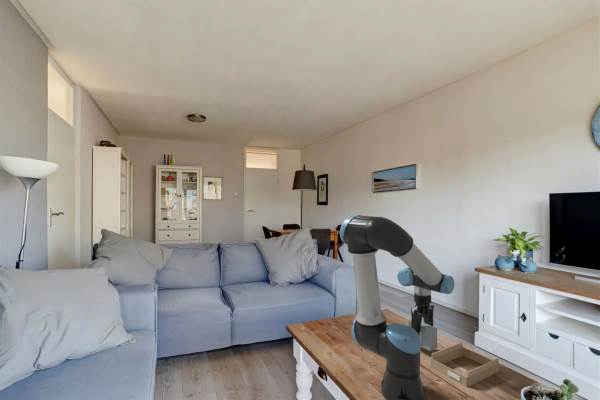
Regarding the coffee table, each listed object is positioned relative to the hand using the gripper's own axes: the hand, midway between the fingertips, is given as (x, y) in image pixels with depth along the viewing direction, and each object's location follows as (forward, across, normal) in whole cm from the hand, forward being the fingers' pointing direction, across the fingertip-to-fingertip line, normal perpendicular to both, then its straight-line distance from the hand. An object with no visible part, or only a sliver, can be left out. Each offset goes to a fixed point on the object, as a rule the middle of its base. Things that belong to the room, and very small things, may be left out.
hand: (422, 343), depth 141 cm
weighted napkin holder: (0, 0, 0) cm, 0 cm away
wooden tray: (+4, +2, -19) cm, 20 cm away
